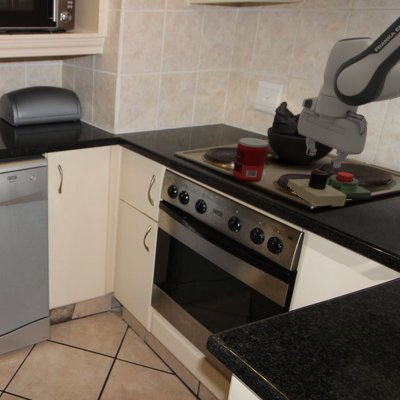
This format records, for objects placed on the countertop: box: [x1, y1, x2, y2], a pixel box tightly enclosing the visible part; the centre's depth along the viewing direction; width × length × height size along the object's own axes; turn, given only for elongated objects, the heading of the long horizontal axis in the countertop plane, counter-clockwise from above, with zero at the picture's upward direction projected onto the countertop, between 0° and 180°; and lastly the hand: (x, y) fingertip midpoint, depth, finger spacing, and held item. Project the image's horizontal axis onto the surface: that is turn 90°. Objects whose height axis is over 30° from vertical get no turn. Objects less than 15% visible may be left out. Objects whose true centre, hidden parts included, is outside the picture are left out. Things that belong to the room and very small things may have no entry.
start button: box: [336, 171, 354, 182], centre depth 127 cm, size 4×4×2 cm
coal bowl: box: [266, 101, 335, 165], centre depth 149 cm, size 20×20×19 cm
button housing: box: [327, 174, 372, 201], centre depth 128 cm, size 11×8×4 cm
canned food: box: [232, 137, 269, 183], centre depth 137 cm, size 8×8×11 cm
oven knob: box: [308, 168, 330, 190], centre depth 123 cm, size 4×4×4 cm
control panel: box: [286, 178, 347, 207], centre depth 125 cm, size 12×8×3 cm
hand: (322, 160), depth 122 cm, fingers open, 8 cm apart
